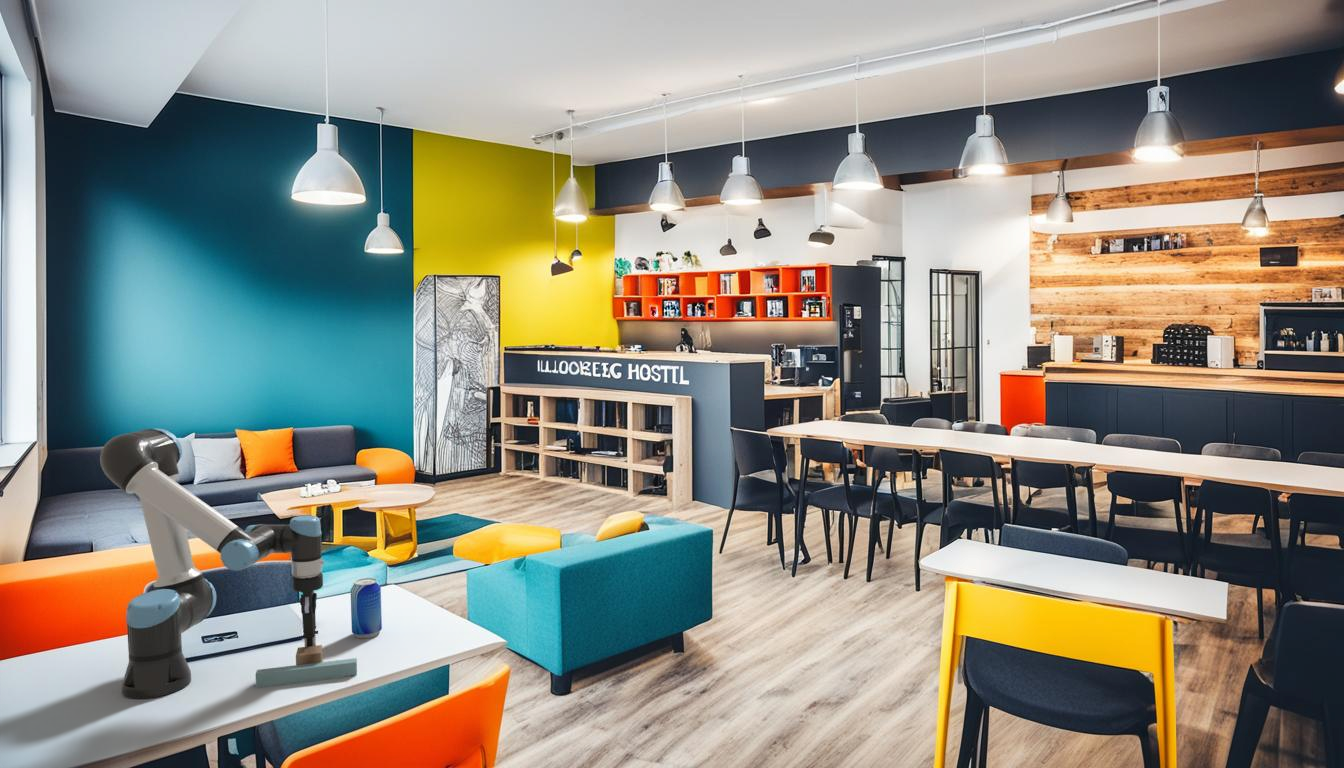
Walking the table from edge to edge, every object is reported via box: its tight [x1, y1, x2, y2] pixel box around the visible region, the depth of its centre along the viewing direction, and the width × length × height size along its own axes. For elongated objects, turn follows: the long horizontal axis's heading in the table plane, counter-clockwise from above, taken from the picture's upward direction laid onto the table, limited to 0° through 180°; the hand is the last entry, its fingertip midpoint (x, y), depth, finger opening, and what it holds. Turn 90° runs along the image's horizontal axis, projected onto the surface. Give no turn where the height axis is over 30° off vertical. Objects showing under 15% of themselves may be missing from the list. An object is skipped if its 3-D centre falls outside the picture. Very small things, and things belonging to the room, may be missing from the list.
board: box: [255, 657, 358, 688], centre depth 226 cm, size 24×3×4 cm, turn 108°
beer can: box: [350, 577, 383, 639], centre depth 258 cm, size 8×8×16 cm
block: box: [295, 644, 324, 665], centre depth 230 cm, size 6×6×6 cm
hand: (310, 659), depth 236 cm, fingers closed
